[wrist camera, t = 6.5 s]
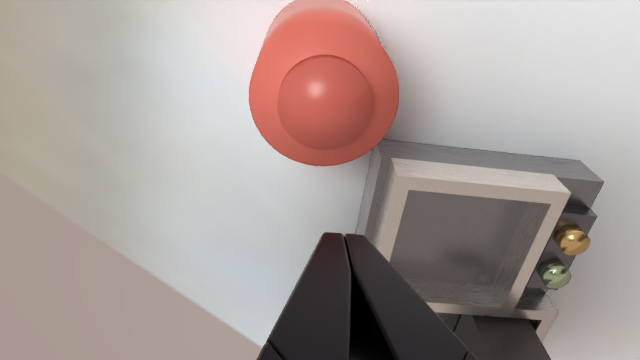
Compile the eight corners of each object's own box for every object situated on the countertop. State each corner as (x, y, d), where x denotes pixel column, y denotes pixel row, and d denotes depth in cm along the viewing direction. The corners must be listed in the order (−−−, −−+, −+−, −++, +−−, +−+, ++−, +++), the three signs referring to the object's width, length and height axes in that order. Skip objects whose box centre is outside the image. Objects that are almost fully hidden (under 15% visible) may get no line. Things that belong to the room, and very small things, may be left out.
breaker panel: (582, 159, 21) (628, 198, 18) (493, 344, 28) (515, 396, 25) (375, 136, 20) (387, 174, 17) (334, 333, 27) (337, 385, 24)
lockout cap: (385, 2, 17) (419, 38, 12) (364, 112, 20) (385, 181, 14) (268, -14, 17) (250, 16, 12) (260, 100, 19) (243, 167, 14)
